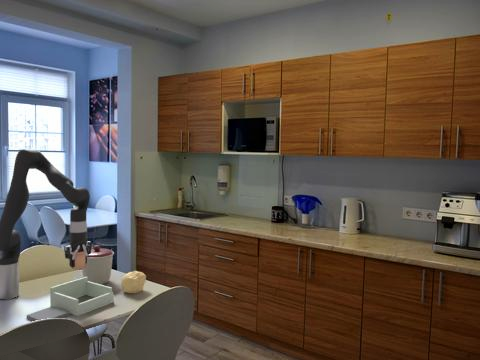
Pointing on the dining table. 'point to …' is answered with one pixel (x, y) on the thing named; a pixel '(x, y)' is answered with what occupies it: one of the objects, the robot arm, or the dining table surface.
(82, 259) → the terracotta pot
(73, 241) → the robot arm
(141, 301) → the dining table surface
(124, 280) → the sculpture
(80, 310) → the pale green open box
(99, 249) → the canister
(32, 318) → the slate board
